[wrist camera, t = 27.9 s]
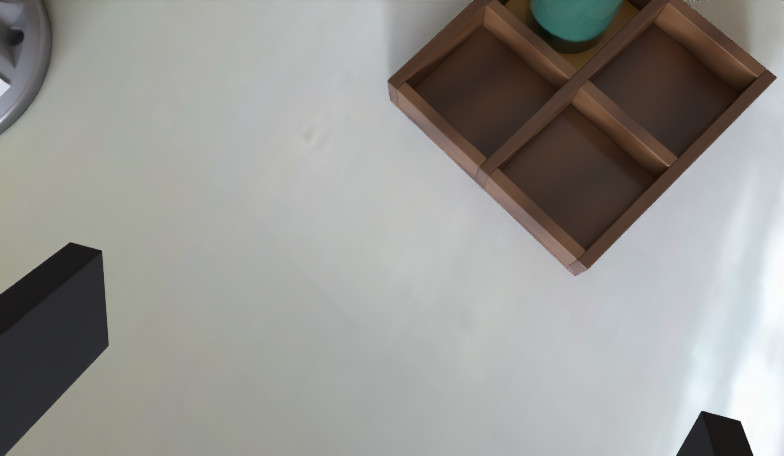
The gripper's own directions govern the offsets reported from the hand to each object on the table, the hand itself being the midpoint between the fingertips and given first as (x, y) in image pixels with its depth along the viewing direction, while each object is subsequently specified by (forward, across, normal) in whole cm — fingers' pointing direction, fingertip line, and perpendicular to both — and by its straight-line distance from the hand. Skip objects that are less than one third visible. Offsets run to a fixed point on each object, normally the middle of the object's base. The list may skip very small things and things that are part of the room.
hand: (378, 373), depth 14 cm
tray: (+32, +6, -2) cm, 33 cm away
